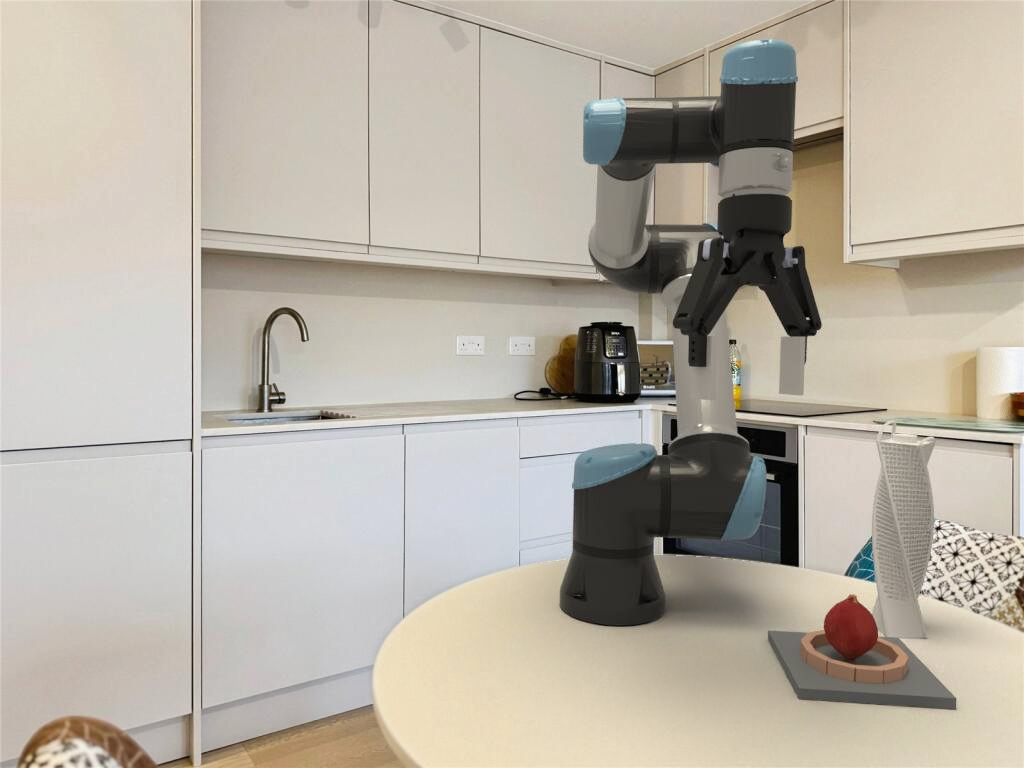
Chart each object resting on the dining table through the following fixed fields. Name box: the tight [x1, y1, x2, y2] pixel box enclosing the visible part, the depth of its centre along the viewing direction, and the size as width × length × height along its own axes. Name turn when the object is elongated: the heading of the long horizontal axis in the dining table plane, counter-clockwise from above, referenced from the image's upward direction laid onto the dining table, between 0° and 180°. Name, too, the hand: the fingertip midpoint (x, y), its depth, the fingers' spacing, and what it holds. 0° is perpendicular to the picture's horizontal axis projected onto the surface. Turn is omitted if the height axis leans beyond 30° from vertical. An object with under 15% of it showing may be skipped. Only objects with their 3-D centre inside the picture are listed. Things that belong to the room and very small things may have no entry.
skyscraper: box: [871, 419, 936, 640], centre depth 100 cm, size 8×8×28 cm
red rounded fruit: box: [823, 593, 879, 661], centre depth 88 cm, size 6×6×8 cm
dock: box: [767, 629, 957, 710], centre depth 88 cm, size 16×16×3 cm
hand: (748, 397), depth 81 cm, fingers open, 13 cm apart
